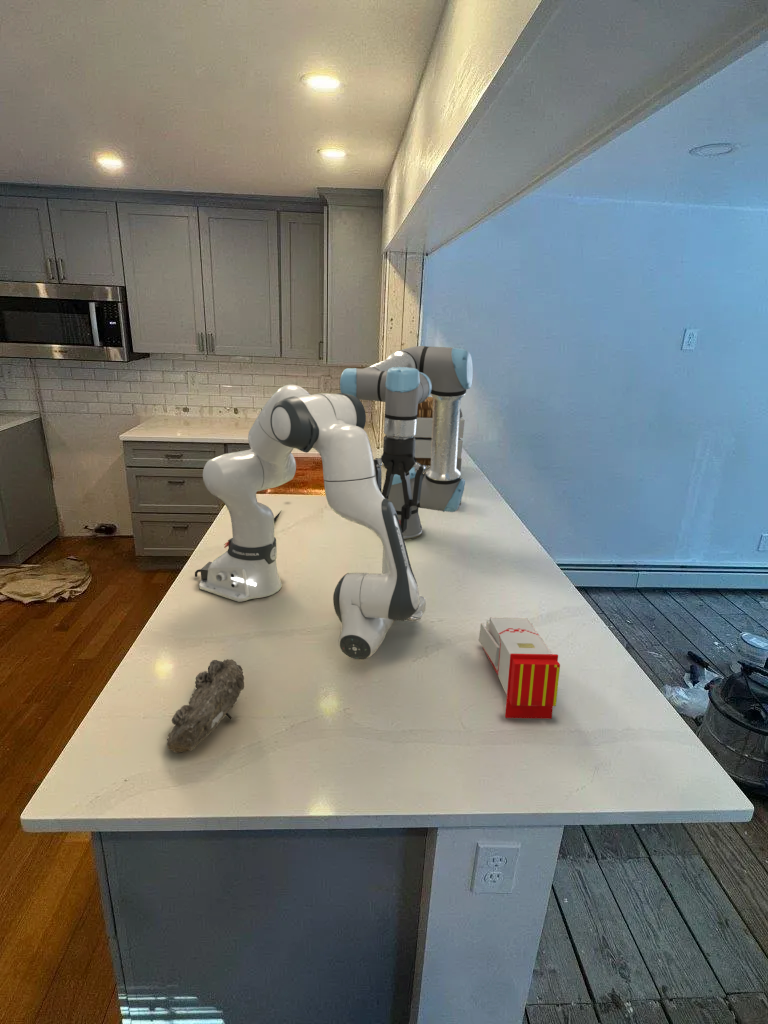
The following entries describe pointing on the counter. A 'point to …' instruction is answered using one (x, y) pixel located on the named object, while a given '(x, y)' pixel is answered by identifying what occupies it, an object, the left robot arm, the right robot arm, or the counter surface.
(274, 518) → the feather
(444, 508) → the right robot arm
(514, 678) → the toy
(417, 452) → the grey slatted box
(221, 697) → the fossil
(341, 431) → the left robot arm
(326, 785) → the counter surface
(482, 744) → the counter surface
